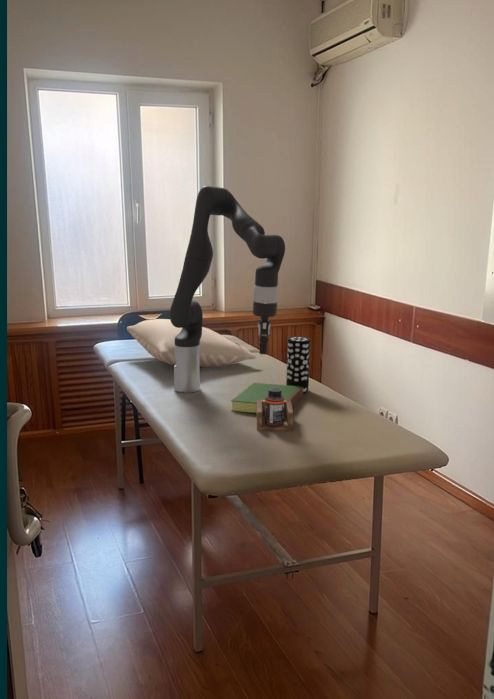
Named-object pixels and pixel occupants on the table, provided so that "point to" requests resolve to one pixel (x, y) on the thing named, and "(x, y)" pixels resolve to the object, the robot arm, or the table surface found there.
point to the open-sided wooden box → (285, 426)
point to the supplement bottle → (274, 407)
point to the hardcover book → (263, 396)
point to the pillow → (161, 344)
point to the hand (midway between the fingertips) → (262, 350)
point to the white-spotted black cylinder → (298, 362)
